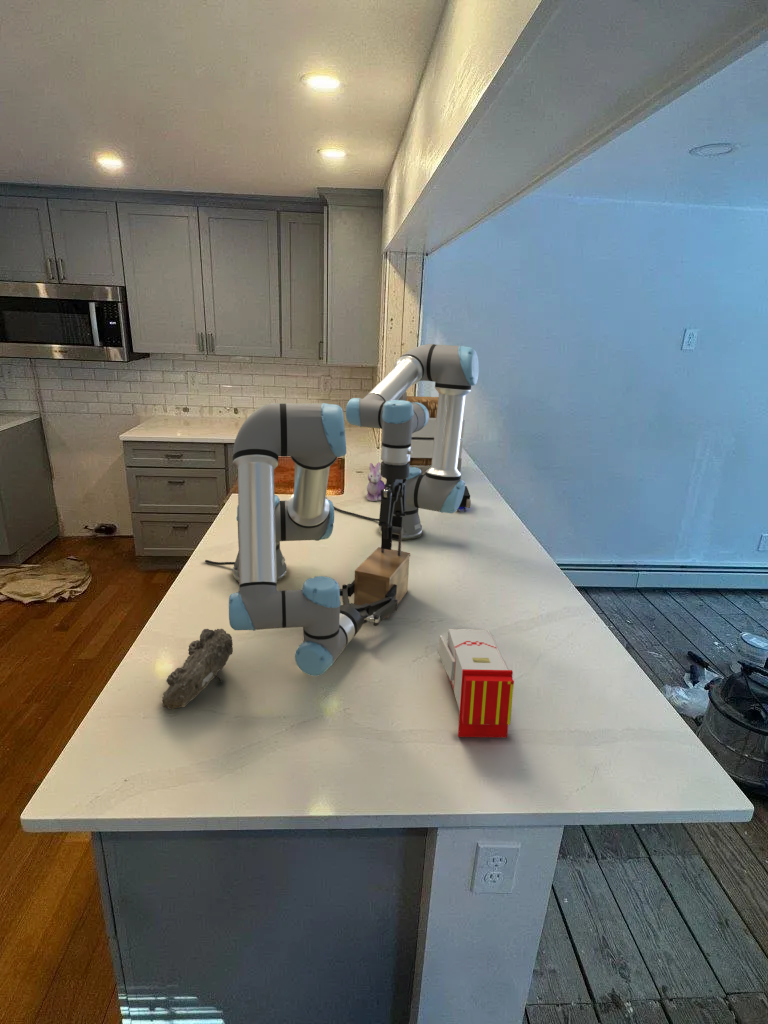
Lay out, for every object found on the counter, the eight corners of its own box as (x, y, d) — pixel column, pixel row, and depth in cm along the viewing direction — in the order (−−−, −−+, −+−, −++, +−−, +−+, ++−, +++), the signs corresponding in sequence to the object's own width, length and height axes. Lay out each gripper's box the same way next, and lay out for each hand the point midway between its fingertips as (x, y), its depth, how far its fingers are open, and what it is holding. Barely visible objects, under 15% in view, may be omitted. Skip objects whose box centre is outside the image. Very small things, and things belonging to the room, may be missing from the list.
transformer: (382, 463, 289) (386, 382, 275) (445, 464, 293) (451, 384, 279) (390, 482, 257) (394, 392, 243) (460, 483, 261) (468, 394, 247)
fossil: (186, 631, 128) (233, 600, 123) (216, 659, 131) (263, 630, 126) (139, 703, 108) (193, 670, 103) (175, 734, 111) (229, 704, 106)
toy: (488, 613, 130) (523, 677, 101) (484, 667, 133) (517, 744, 104) (435, 612, 130) (455, 676, 101) (432, 666, 133) (451, 743, 103)
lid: (378, 549, 160) (379, 519, 157) (410, 555, 157) (412, 525, 154) (354, 573, 145) (355, 541, 142) (389, 580, 142) (391, 547, 139)
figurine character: (470, 516, 223) (465, 500, 237) (473, 499, 220) (467, 484, 233) (453, 516, 223) (449, 500, 236) (455, 498, 220) (451, 483, 233)
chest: (376, 584, 162) (377, 550, 159) (407, 591, 159) (409, 557, 156) (353, 610, 148) (354, 573, 145) (387, 618, 145) (389, 581, 142)
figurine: (371, 503, 230) (372, 467, 224) (360, 495, 238) (361, 460, 233) (391, 500, 234) (393, 465, 229) (380, 493, 242) (381, 459, 237)
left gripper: (297, 630, 133) (338, 589, 153) (385, 652, 126) (416, 606, 146) (297, 601, 130) (338, 564, 150) (387, 622, 123) (418, 580, 143)
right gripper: (396, 473, 136) (391, 559, 144) (420, 455, 154) (415, 533, 162) (367, 468, 139) (364, 554, 146) (394, 451, 156) (391, 528, 164)
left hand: (376, 585), depth 148 cm, fingers closed on chest, 9 cm apart
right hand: (391, 543), depth 154 cm, fingers open, 7 cm apart
